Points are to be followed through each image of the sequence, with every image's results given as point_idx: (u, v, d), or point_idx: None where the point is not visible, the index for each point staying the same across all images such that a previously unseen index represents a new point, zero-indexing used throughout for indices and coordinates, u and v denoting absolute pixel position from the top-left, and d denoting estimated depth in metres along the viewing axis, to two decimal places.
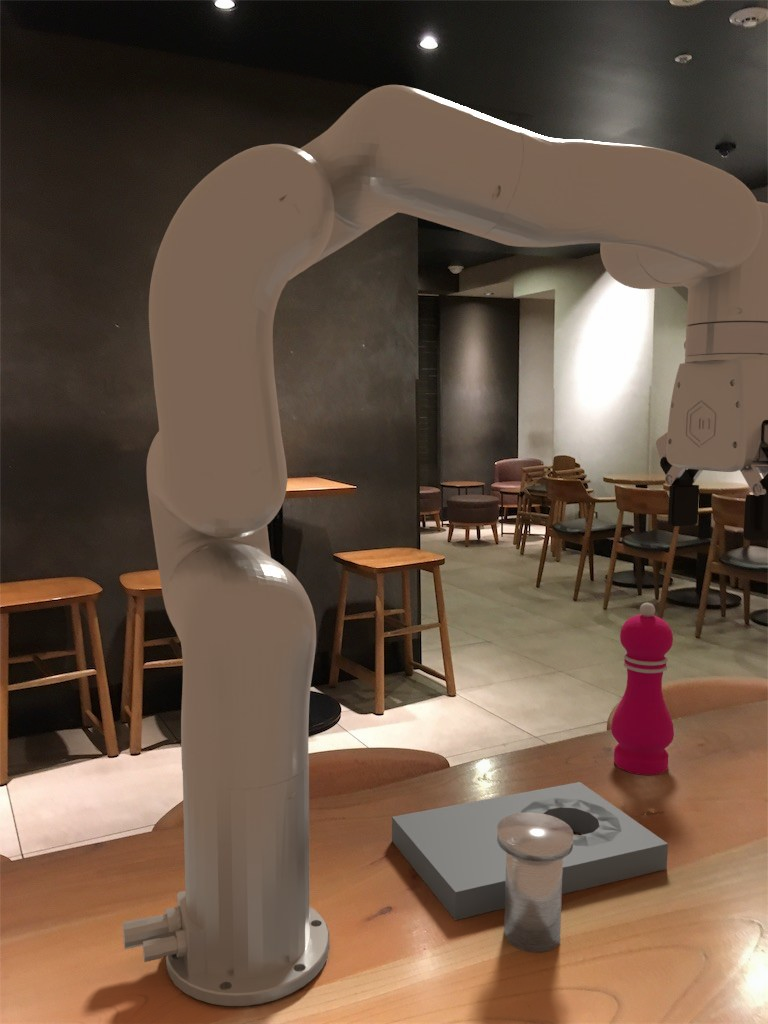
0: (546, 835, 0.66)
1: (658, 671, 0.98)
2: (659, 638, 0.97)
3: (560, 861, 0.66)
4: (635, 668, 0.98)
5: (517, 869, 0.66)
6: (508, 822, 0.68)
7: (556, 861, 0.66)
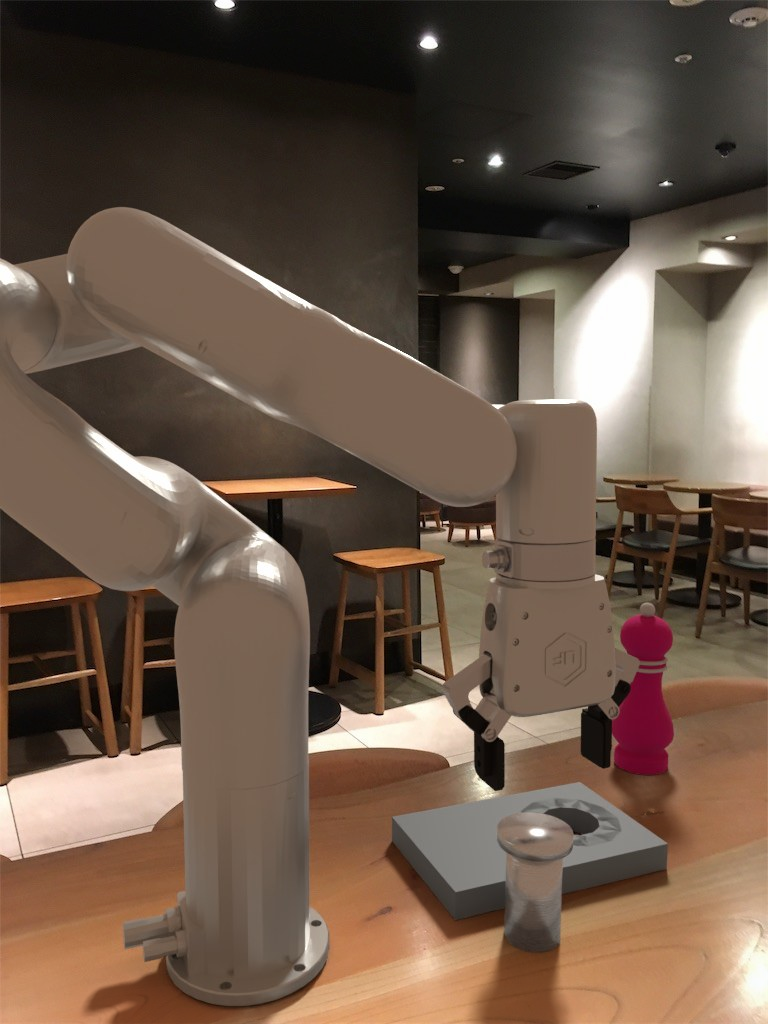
0: (546, 835, 0.66)
1: (658, 671, 0.98)
2: (659, 638, 0.97)
3: (560, 861, 0.66)
4: None
5: (517, 869, 0.66)
6: (508, 822, 0.68)
7: (556, 861, 0.66)
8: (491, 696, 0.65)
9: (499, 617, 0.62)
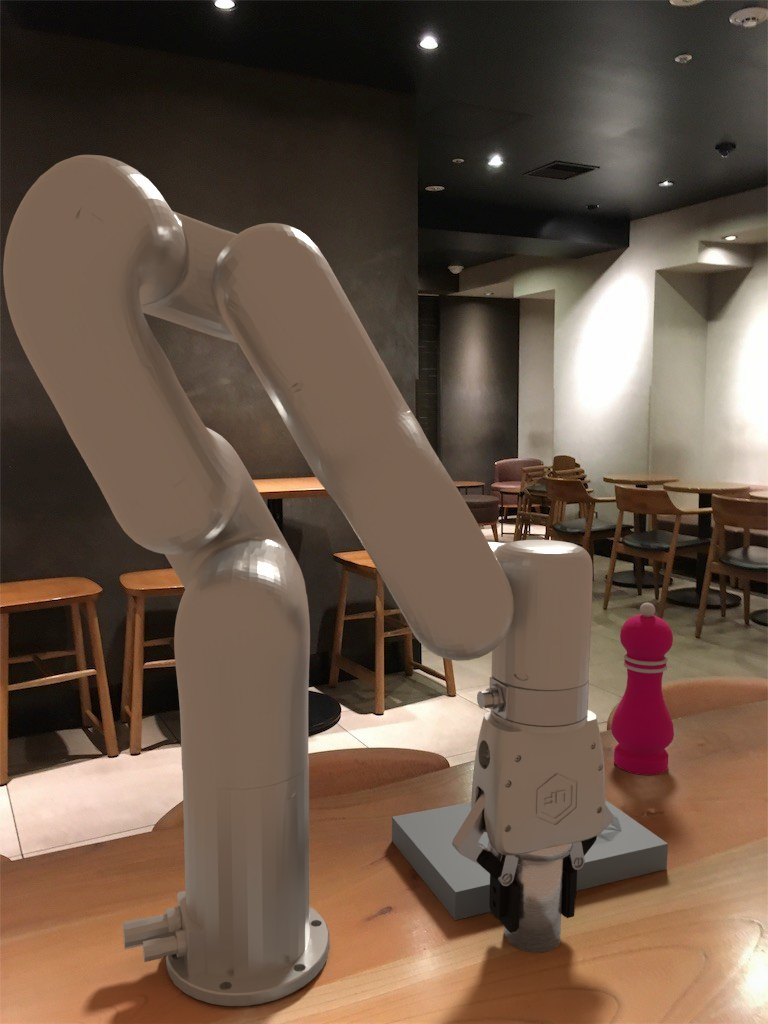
0: None
1: (658, 671, 0.98)
2: (659, 638, 0.97)
3: (560, 861, 0.66)
4: (635, 668, 0.98)
5: (517, 869, 0.66)
6: None
7: (556, 861, 0.66)
8: None
9: (492, 758, 0.63)
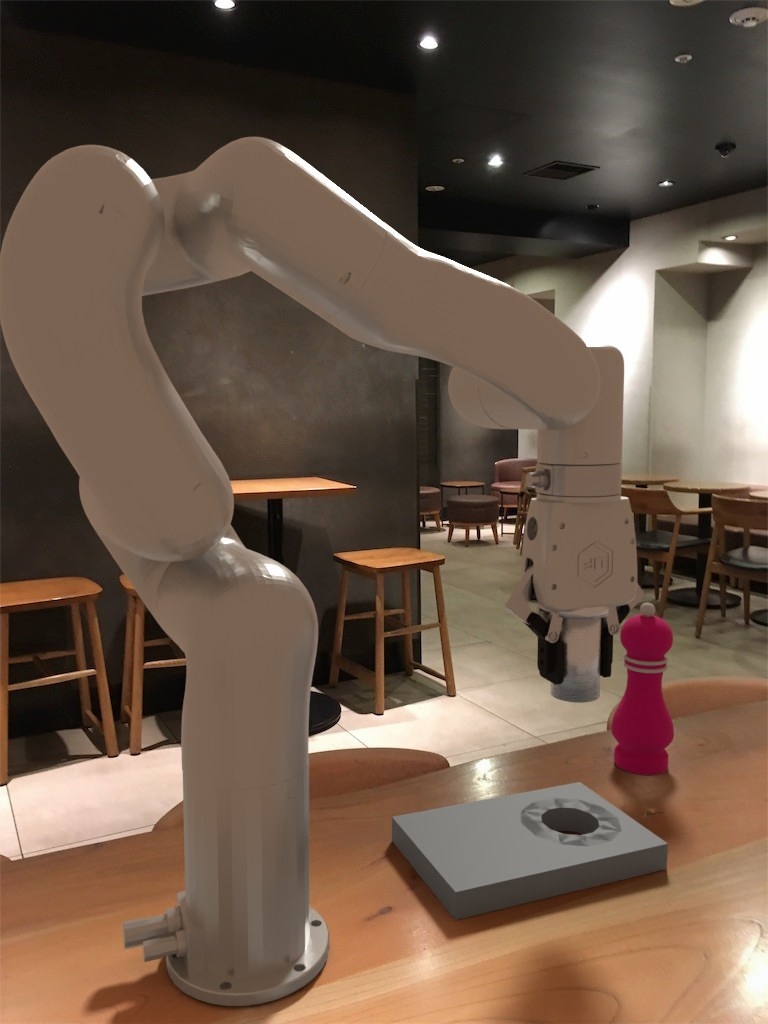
0: None
1: (658, 671, 0.98)
2: (660, 638, 0.97)
3: (599, 624, 0.77)
4: (635, 668, 0.98)
5: (561, 630, 0.76)
6: None
7: (595, 622, 0.76)
8: (542, 605, 0.77)
9: (540, 527, 0.74)
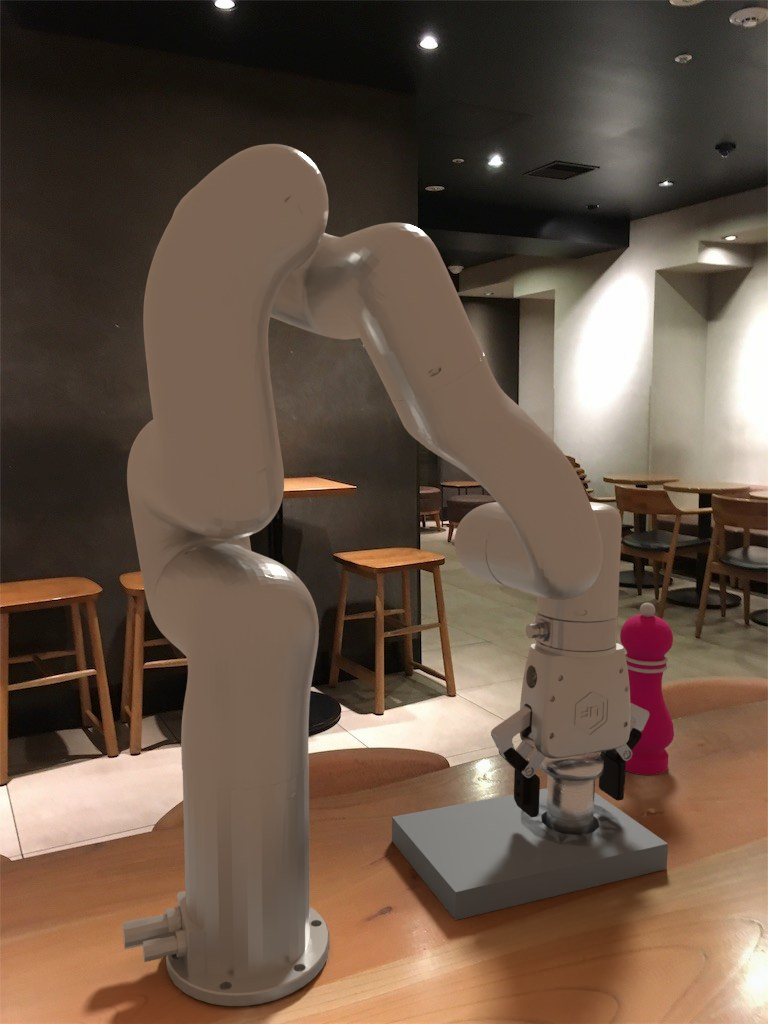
0: (581, 761, 0.80)
1: (658, 671, 0.98)
2: (660, 638, 0.97)
3: (593, 782, 0.80)
4: (635, 668, 0.98)
5: (557, 788, 0.80)
6: None
7: (590, 782, 0.80)
8: (529, 740, 0.80)
9: (539, 678, 0.77)
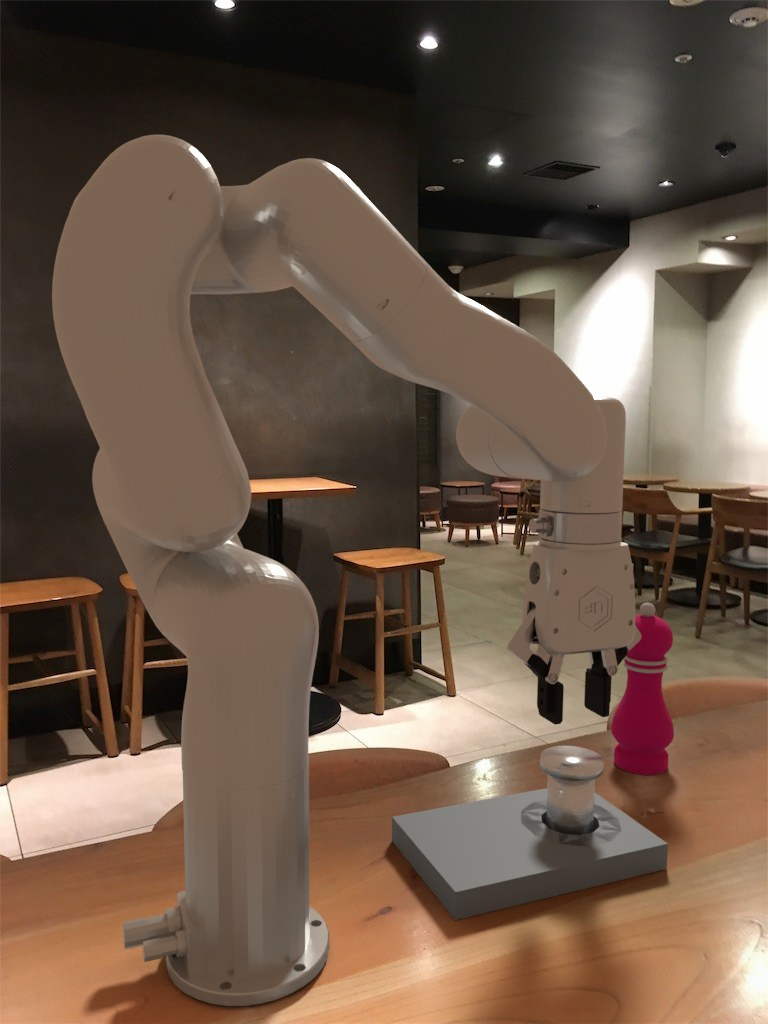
0: (581, 761, 0.80)
1: (658, 671, 0.98)
2: (660, 638, 0.97)
3: (593, 782, 0.80)
4: (635, 668, 0.98)
5: (557, 788, 0.80)
6: (549, 752, 0.83)
7: (590, 782, 0.80)
8: None
9: (542, 572, 0.76)
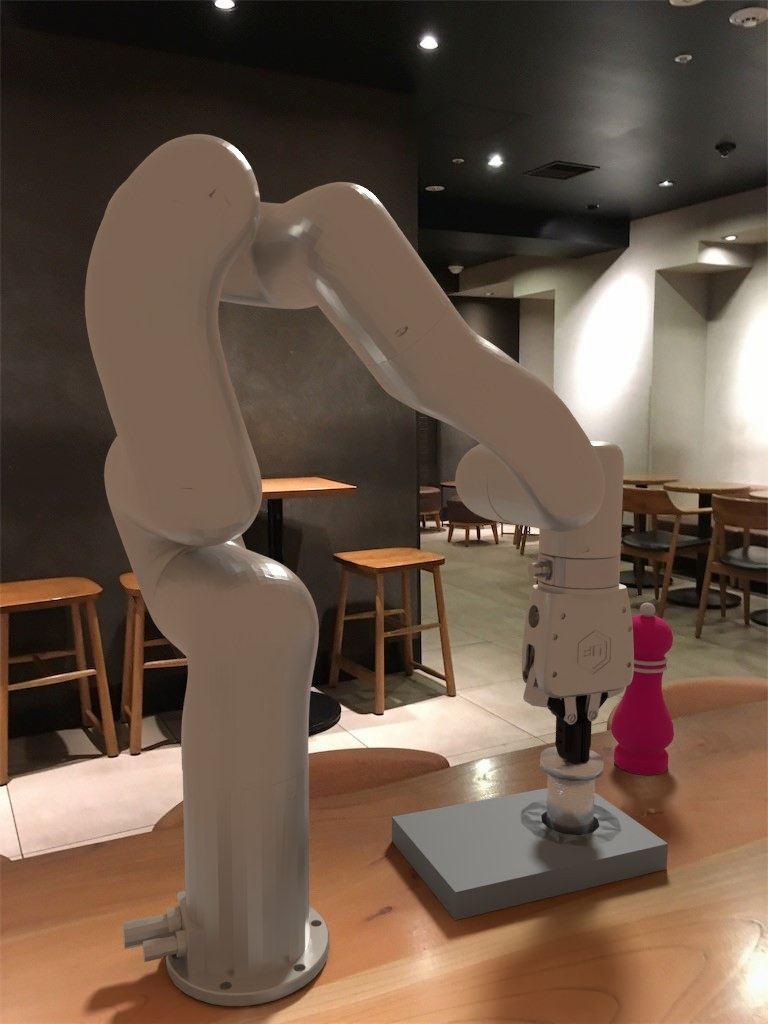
0: (581, 761, 0.80)
1: (658, 671, 0.98)
2: (660, 638, 0.97)
3: (593, 782, 0.80)
4: (635, 668, 0.98)
5: (557, 789, 0.80)
6: (549, 752, 0.83)
7: (590, 782, 0.80)
8: None
9: (541, 617, 0.77)
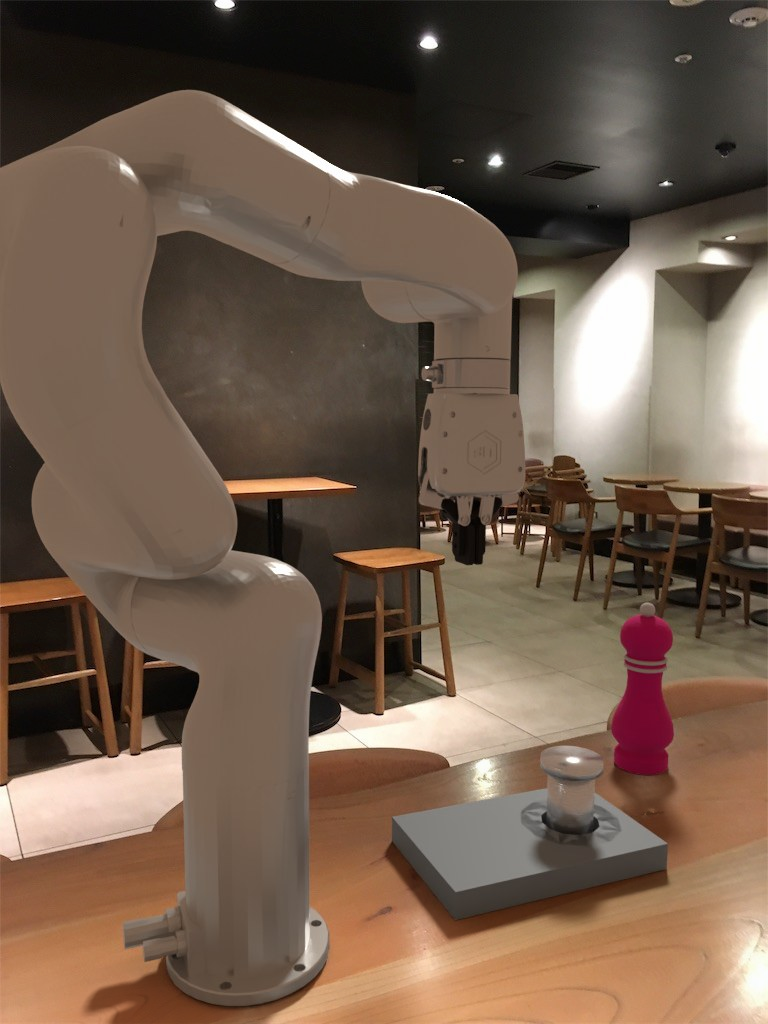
0: (581, 761, 0.80)
1: (658, 671, 0.98)
2: (660, 638, 0.97)
3: (593, 782, 0.80)
4: (635, 668, 0.98)
5: (557, 788, 0.80)
6: (548, 752, 0.82)
7: (590, 782, 0.80)
8: (448, 495, 0.84)
9: (433, 416, 0.80)
